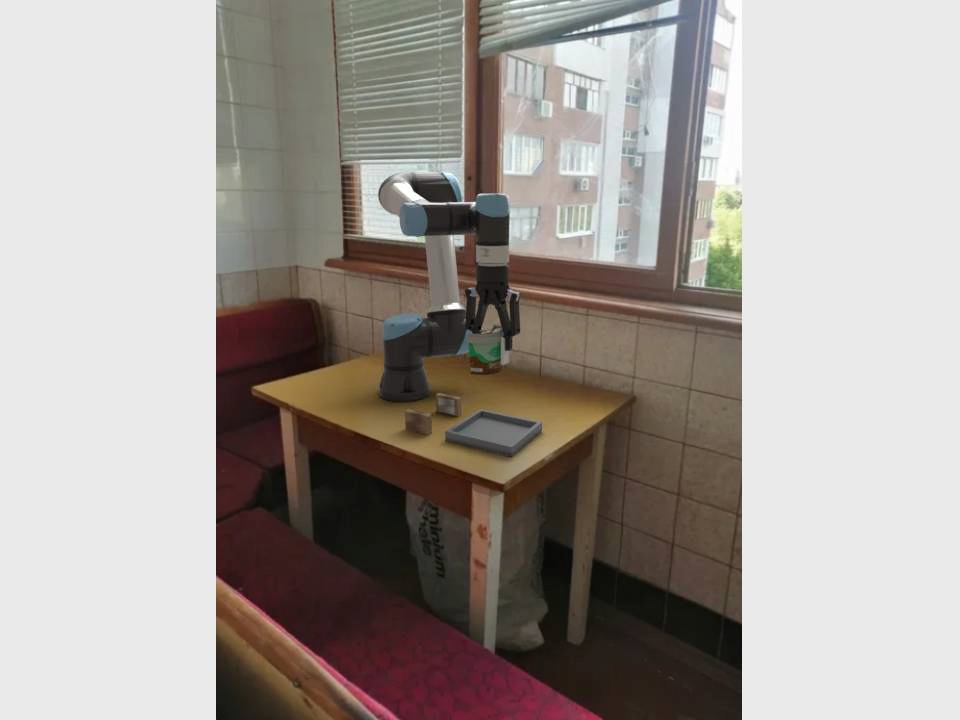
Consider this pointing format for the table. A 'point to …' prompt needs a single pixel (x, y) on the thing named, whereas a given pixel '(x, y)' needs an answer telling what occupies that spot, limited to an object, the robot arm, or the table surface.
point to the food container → (485, 351)
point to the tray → (494, 432)
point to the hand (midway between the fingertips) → (492, 361)
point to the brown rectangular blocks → (423, 420)
